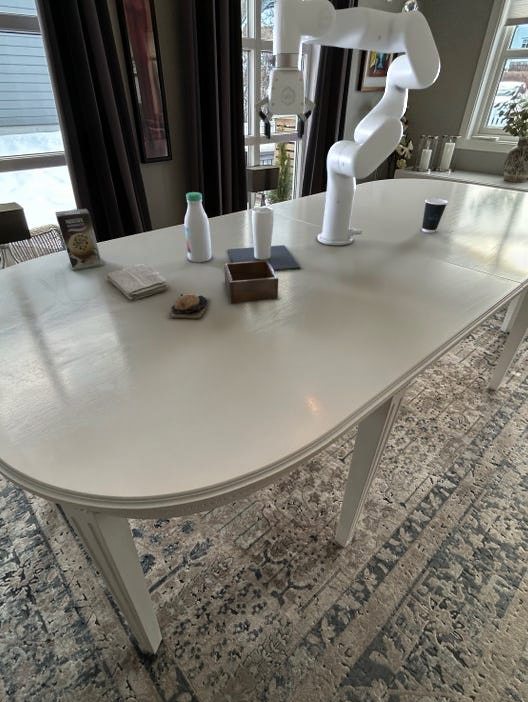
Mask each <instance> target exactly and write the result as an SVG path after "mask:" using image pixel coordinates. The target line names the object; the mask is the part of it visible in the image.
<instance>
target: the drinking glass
mask: <svg viewBox="0 0 528 702" xmlns="http://www.w3.org/2000/svg"><path fill="white" fill-rule="evenodd" d="M274 217H275V214H274V209H273V208H272V207H269V206H258V207H253V208H252V209H251V231H252V242H253V247H254V257H255V258H256V259H258V260H266V259H269V258H270V256H271V246H272V241H273V232H274Z"/></svg>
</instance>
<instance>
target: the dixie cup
mask: <svg viewBox="0 0 528 702" xmlns="http://www.w3.org/2000/svg"><path fill="white" fill-rule="evenodd" d="M424 201H425V203H424V211H423V217H422V225H421V231H422V232H424V233H429V234H433V233H435V232H436V230H437V229H438V227H439V224H440V223H441V219H442V217H443V214H444V212H445V209H446V207H447V205H448V203H449V201H448V200H445V199H442V198H426V199H425V200H424Z"/></svg>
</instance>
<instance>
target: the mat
mask: <svg viewBox="0 0 528 702" xmlns="http://www.w3.org/2000/svg"><path fill="white" fill-rule="evenodd" d="M227 252H228V255H229V257H230V260H231V263H238V262H251V261H264V260H258V259H256V258H255V257H254V246H253V247H240V248H239V247H238V248H227ZM266 260H268V261H269V263H270V265H271V267H272V268H273V270H274V272H280V271H293V270H300V269H301V265H299V263H298V262H297V261H296V259H295V258H294V257H293V255H292V253H290V251H289V250H288V249H287V247H286V246H285V245H284V244H281V245H271V256H270V258H269V259H266Z"/></svg>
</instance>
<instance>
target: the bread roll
mask: <svg viewBox="0 0 528 702" xmlns="http://www.w3.org/2000/svg"><path fill="white" fill-rule="evenodd" d="M207 306H208V298H207V297H206V296H204V295H197V296H196V295H195V294H183V293H181V294H180V296H179V297H178V298H177V299H176V301H175V304H173V305H172V306H171V314H170V318H173V319H174V318H176V319H177V318H180V319H199V320H200V319H201V317H202V315H203V314H204V313H205V311H206V309H207Z"/></svg>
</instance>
